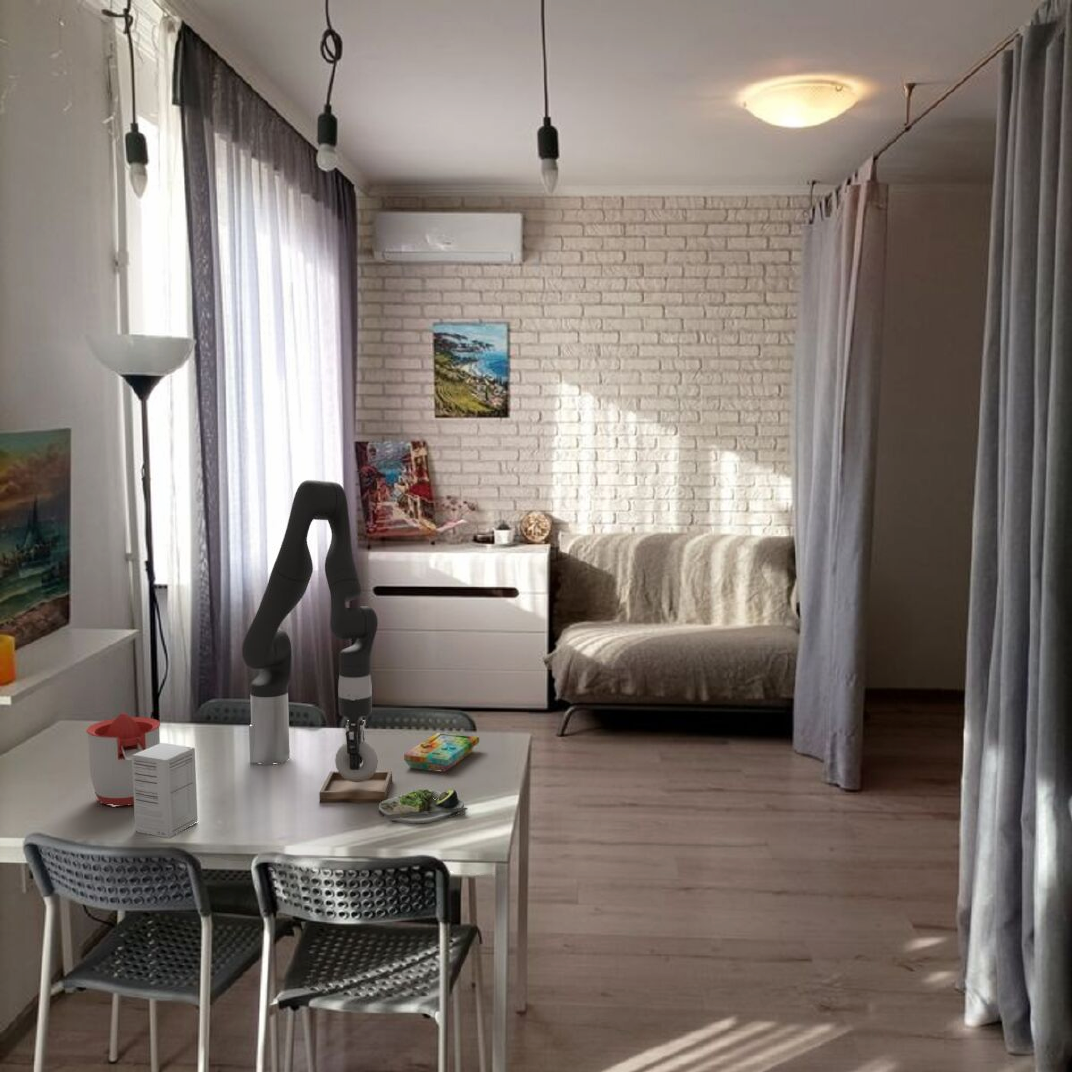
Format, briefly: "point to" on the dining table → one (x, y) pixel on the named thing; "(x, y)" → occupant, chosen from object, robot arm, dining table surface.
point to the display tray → (356, 788)
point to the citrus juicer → (118, 755)
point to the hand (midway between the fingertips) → (356, 766)
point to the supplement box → (164, 789)
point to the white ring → (364, 771)
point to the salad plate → (422, 806)
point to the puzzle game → (440, 751)
